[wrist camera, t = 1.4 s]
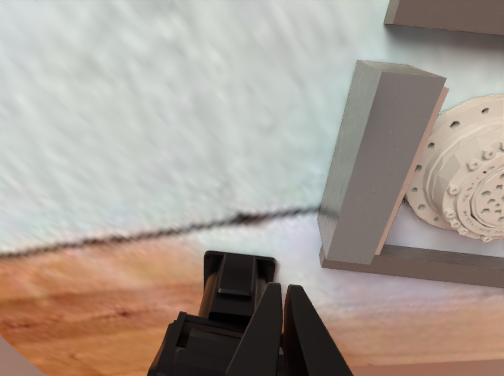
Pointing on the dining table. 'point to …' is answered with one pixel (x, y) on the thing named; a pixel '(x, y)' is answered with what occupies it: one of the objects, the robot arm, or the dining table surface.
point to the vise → (424, 260)
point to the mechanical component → (463, 171)
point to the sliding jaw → (376, 156)
